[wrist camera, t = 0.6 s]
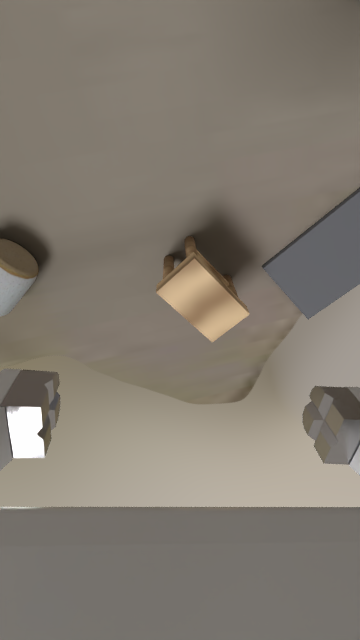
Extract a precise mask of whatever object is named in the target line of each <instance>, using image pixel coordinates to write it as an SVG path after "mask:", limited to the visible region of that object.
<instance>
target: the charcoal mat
mask: <svg viewBox="0 0 360 640" xmlns="http://www.w3.org/2000/svg"><path fill="white" fill-rule="evenodd" d="M262 267H263V269H264V270H265V271H266V272H267V273H268V274H269V276H270V277H271V278H272V279H273V280H274V281H275V282H276V284H277V285H278V286H279V287H280V288H281V289H282V290H283V292H284V293H285V294H286V295H287V296H288V297H289V298H290V299H291V301H292V302H293V303H294V304H295V305H296V306H297V307H298V309H299V310H300V311H301V312H302V313H303V314H304V315H305V316H306V318H307V319H309V318H311V317H312V316H314V315H315V314H317V313H318V312H319V311H321V310H322V309H324V308H325V307H327V306H328V305H330V304H331V303H333V302H334V301H335V300H337V299H338V298H340V297H341V296H343V295H344V294H346V293H347V292H349V291H350V290H351V289H353V288H354V287H356V286H357V285H359V284H360V188H359V189H358V190H356V191H355V192H354V193H353V194H351V195H350V196H349V197H348V198H346V199H345V200H344V201H343V202H341V203H340V204H339V205H338V206H336V207H335V208H334V209H333V210H331V211H330V212H329V213H328V214H326V215H325V216H324V217H323V218H321V219H320V220H319V221H318V222H316V223H315V224H314V225H313V226H311V227H310V228H309V229H308V230H306V231H305V232H304V233H303V234H301V235H300V236H299V237H298V238H296V239H295V240H294V241H293V242H291V243H290V244H289V245H288V246H286V247H285V248H284V249H283V250H281V251H280V252H279V253H278V254H276V255H275V256H274V257H273V258H271V259H270V260H269V261H268V262H266V263H265V264H264V265H263V266H262Z"/></svg>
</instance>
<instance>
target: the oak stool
mask: <svg viewBox="0 0 360 640" xmlns="http://www.w3.org/2000/svg"><path fill="white" fill-rule="evenodd" d="M185 251H186V259H185V260H184V261H183V262H182V263H180V264H179V265H178V266H177V267H176V268H175V269H174V258H173V257H172V256H169V255H168V256H166V257H165V258H164V270H163V280H162V281H161V282H159V283H158V284H157V289H156V293H157V294H158V295H160V296H161V297H162V298H163V299H164V300H165V301H166V302H167V303H169V304H170V305H171V306H172V307H173V308H174V309H175V310H176V311H178V312H179V313H180V314H181V315H182V316H183V317H184V318H185V319H187V320H188V321H189V322H190V323H191V324H192V325H193V326H194V327H196V328H197V329H198V330H199V331H200V332H201V333H202V334H203V335H205V336H206V337H207V338H208V339H209V340H210V341H211V342H213V341H215V340H216V339H217V338H219V337H220V336H221V335H223V334H224V333H225V332H227V331H228V330H229V329H231V328H232V327H233V326H235V325H236V324H237V323H239V322H240V321H241V320H243V319H244V318H245V317H247V316H248V315H249V311H248V309H247V306H246V305H245V304H244V303H243V302H242V301H241V300H240V299H239V298H238V296H237V293H236V290H235V287H234V285H233V282H232V279H231V277H230V276H229V275H224V276H222V275H221V274H220V273H219V272H218V271H217V270H216V269H215V268H214V267H213V266H212V265H211V264H210V263H209V262H208V261H207V260H206V259H205V258H204V257H203V256H202V255H201V253H200V252H199V251H198V250H197V249H196V245H195V240H194V238H193V237H192V236H188V237H186V238H185Z"/></svg>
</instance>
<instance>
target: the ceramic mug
mask: <svg viewBox="0 0 360 640" xmlns="http://www.w3.org/2000/svg"><path fill="white" fill-rule="evenodd" d="M38 272H39V269H38V265H37V262H36V260H35V259H34V257H33V256H32V255H31V254H30V253H29V252H28V251H27V250H26V249H24V248H23V247H21V246H20V245H18V244H16V243H15V242H12V241H10V240H6V239H0V316H4V315H6V314H8V313H10V312H11V310H12V309H13V308H14V307H15V305H16V304H17V303H18V302H19V300H20V299H21V298H22V297H23V295H24V294H25V293H26V291H27V290H28V289H29V288H30V286H31V285H32V284H33V283H34V281H35V279H36V277H37V275H38Z"/></svg>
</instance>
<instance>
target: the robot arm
mask: <svg viewBox="0 0 360 640" xmlns="http://www.w3.org/2000/svg"><path fill="white" fill-rule="evenodd" d="M58 386H59V374H58V373H57V372H49V371H48V372H47V371H35V370H20V369H3V370H2V371H1V372H0V470H1V469H3V468H4V467H5V466H6V465H7V464H8V463H9V462H10V461H11V460H12V458H44V457H45V456H46V453H47V450H48V447H49V444H50V442H51V430H52V429H53V428H55V427H56V424H57V421H58V417H59V411H60V395H59V394H58V393H57V389H58ZM310 398H311V402H310V403H309V404H308V405H306V406H305V409H304V411H303V425H304V429H305V431H306V433H307V435H308V436H310V437H311V438H312V439H314V440H315V443H314V447H315V449H316V451H317V452H318V454H319V456H320V458H321V460H322V461H323V463H328V464H348V465H349V466H350V467H351V468H352V469H353V470H354V471H356V473H358V474H359V475H360V388H358V387H324V386H315V387H314V388H313V389H312V390H311V393H310ZM0 640H360V507H0Z"/></svg>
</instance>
